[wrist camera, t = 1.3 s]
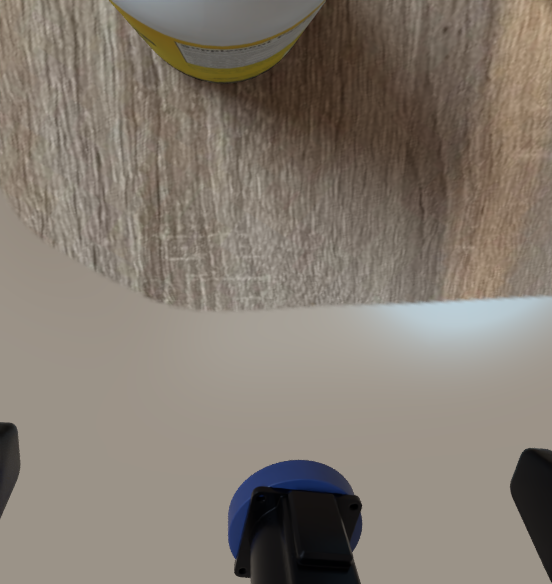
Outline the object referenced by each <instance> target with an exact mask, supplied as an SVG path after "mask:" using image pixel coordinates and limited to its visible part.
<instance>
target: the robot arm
mask: <svg viewBox="0 0 552 584" xmlns="http://www.w3.org/2000/svg"><path fill="white" fill-rule="evenodd" d="M19 471H20V453H19V441H18V431H17V428H16V426H15V425H14V424H12V423H4V422H0V518H1V516H2V513H3V511H4V509H5V507H6V504H7V502H8V500H9V497H10V495H11V493H12V490H13V488H14V486H15V483H16V481H17V479H18V475H19ZM510 490H511V494H512V497H513V500H514V502H515V504H516V506H517V509H518V511H519V513H520V515H521V517H522V520H523V522H524V524H525V526H526V528H527V531H528V533H529V535H530V537H531V539H532V542H533V544H534V546H535V548H536V550H537V553H538V555H539V557H540V559H541V561H542V564H543V566H544V568H545V570H546V572H547V574H548V576H549V578H550V580H551V582H552V451H551V450H548V449H537V448H528V449H525V450H524V451H523V452H522V454H521V456H520V458H519V461H518V464H517V466H516V470H515V472H514V474H513V477H512V479H511V484H510ZM259 495H263V496H262V497H258V496H259ZM352 504H354V505H352ZM361 509H362V504H361V501H360V498H359V497H358V496H356V495H348V494H338V493H327V492H317V491H306V490H296V489H285V488H275V487H264V486H259V487H256V488H255V489H254V490H253V491H252V494H251V498H250V502H249V506H248V510H247V514H246V518H245V522H244V527H243V531H242V535H241V539H240V543H239V547H238V551H237V556H236V560H235V564H234V571H235V572H234V573H235V575H236V576H238V577H245V578H251V584H361V583H360V579H359V576H358V573H357V569H356V566H355V562H354V559H353V554H352V550H351V547H350V541H351V538H352V535H353V532H354V529H355V526H356V523H357V520H358V517H359V515H360V512H361Z"/></svg>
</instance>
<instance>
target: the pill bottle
mask: <svg viewBox="0 0 552 584" xmlns="http://www.w3.org/2000/svg"><path fill="white" fill-rule="evenodd" d="M109 1H110V2H111V3H112V4H113V5H114V7H115V8H116V9H117V10H118V11H119V12H120V13H121V14H122V15H123V16H124V18H125V19H126V20H127V21H128V22H129V24H130V25H131V26H132V27H133V28H134V29H135V30H136V31H137V33H138V34H139V35H140V36H141V37H142V38H143V39H144V40H145V41H146V43H147V44H148V45H149V46H150V47H151V48H152V49H153V50H154V51H155V52H156V53H157V54H158V55H159V56H160V57H161V58H162V59H163V60H164V61H166V62H167V63H168V64H169V65H171V66H172V67H174V68H175V69H177V70H179V71H180V72H182V73H184V74H186V75H188V76H191V77H193V78H196V79H199V80H202V81H207V82H211V83H236V82H241V81H245V80H248V79H251V78H254V77H256V76H258V75H260V74H262V73H264V72H266V71H267V70H269V69H271V68H272V67H273V66H274V65H276V64H277V63H278V62H279V61H280V60H281V59H282V58H283V57H284V56H285V55H286V54H287V53H288V52H289V51H290V50H291V48H292V47H293V46H294V44H295V43H296V41H297V40H298V39H299V37H300V36H301V34H302V33H303V32H304V30H305V29H306V28H307V26H308V25H309V23H310V22H311V21H312V19H313V18H314V17H315V15H316V14H317V13H318V11H319V10H320V8H321V7H322V6H323V4H324V3H325V2H326V0H109Z"/></svg>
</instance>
